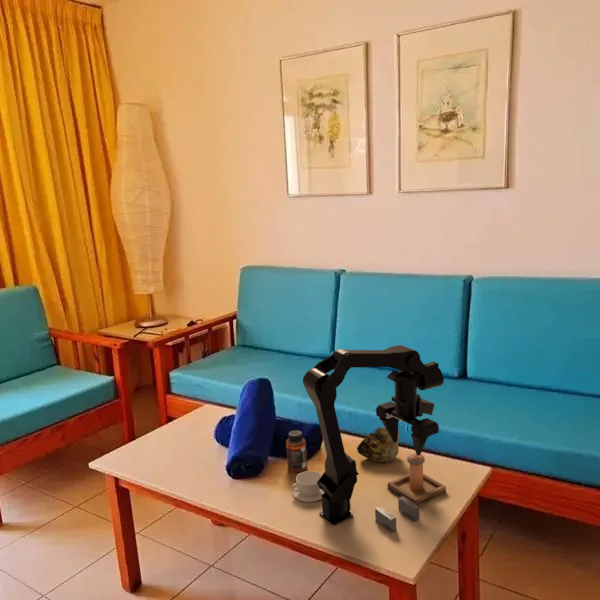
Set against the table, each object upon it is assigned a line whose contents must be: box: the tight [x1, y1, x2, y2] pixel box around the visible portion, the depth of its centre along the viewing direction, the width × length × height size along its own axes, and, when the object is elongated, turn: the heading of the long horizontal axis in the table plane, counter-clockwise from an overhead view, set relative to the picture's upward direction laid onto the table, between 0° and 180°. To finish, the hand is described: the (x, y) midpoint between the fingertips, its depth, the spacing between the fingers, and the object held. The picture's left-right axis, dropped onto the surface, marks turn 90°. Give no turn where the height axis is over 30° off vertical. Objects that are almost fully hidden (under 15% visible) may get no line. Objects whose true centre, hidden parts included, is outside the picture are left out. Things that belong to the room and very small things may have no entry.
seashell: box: [356, 426, 400, 463], centre depth 170 cm, size 11×11×10 cm
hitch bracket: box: [374, 496, 421, 534], centre depth 139 cm, size 9×6×4 cm, turn 122°
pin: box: [406, 453, 426, 492], centre depth 151 cm, size 5×5×9 cm
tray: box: [387, 473, 447, 507], centre depth 152 cm, size 11×11×2 cm
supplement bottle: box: [285, 430, 308, 473], centre depth 167 cm, size 6×6×11 cm
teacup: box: [291, 470, 324, 503], centre depth 154 cm, size 10×10×5 cm
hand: (406, 448), depth 150 cm, fingers open, 9 cm apart
